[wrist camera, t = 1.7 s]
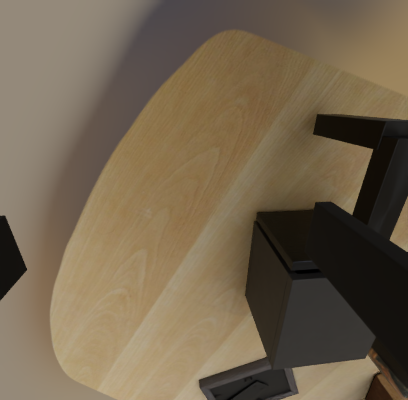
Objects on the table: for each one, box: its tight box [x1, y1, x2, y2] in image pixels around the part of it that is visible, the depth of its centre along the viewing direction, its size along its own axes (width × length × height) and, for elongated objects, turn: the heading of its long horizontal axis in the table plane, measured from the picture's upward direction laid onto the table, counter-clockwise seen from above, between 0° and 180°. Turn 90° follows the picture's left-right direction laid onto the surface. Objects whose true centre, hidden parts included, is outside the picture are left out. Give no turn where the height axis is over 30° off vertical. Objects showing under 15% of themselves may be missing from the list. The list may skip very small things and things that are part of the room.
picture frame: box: [199, 357, 299, 400], centre depth 54 cm, size 16×2×21 cm
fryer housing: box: [245, 221, 376, 370], centre depth 34 cm, size 16×14×13 cm
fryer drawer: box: [256, 114, 408, 274], centre depth 29 cm, size 30×14×13 cm, turn 179°
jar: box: [367, 338, 408, 400], centre depth 44 cm, size 12×12×15 cm
